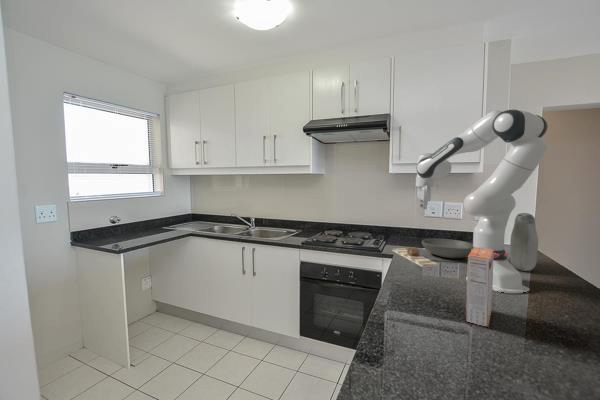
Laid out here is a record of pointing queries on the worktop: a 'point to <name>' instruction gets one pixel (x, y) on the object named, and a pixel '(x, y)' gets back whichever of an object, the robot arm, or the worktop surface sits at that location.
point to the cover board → (415, 256)
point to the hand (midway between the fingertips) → (423, 208)
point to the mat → (408, 258)
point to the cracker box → (479, 286)
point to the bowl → (448, 248)
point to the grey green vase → (524, 243)
